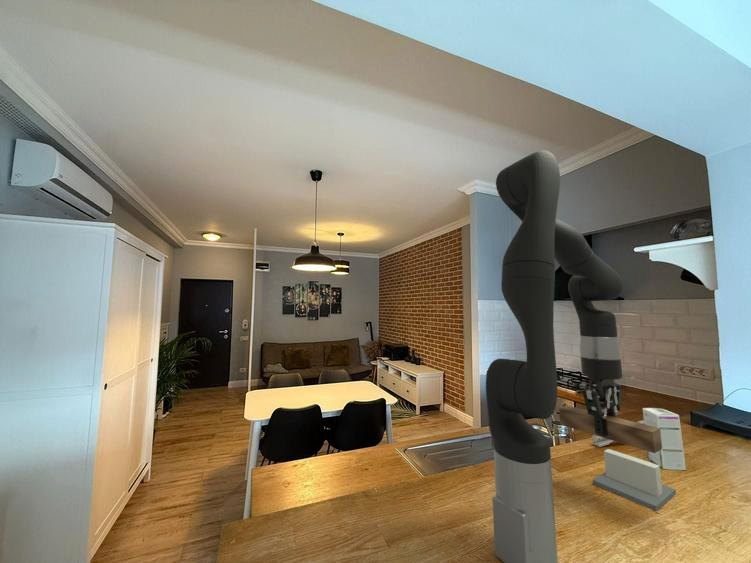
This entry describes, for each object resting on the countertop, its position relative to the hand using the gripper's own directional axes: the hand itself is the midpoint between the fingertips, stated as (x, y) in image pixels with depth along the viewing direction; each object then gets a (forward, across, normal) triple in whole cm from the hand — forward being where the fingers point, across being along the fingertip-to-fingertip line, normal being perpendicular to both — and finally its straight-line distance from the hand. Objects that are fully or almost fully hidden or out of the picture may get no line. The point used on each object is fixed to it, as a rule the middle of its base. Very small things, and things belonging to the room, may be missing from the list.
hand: (606, 432), depth 67 cm
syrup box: (+15, +33, 0) cm, 36 cm away
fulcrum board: (+15, +11, 0) cm, 19 cm away
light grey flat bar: (+15, +43, +10) cm, 47 cm away
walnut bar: (+1, 0, 0) cm, 1 cm away
